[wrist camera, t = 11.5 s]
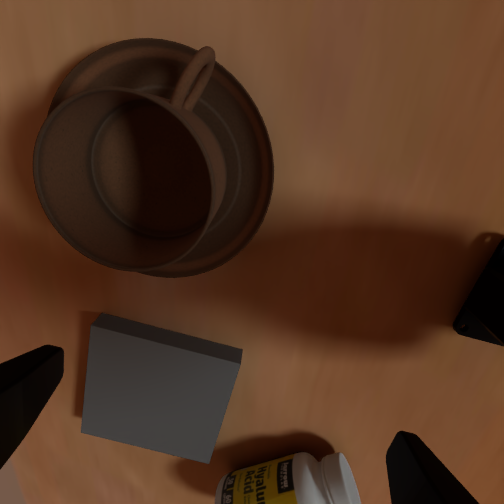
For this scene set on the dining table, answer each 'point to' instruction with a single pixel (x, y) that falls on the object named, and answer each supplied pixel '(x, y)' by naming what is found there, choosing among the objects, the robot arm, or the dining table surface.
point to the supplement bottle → (291, 482)
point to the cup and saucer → (154, 160)
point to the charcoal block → (157, 387)
